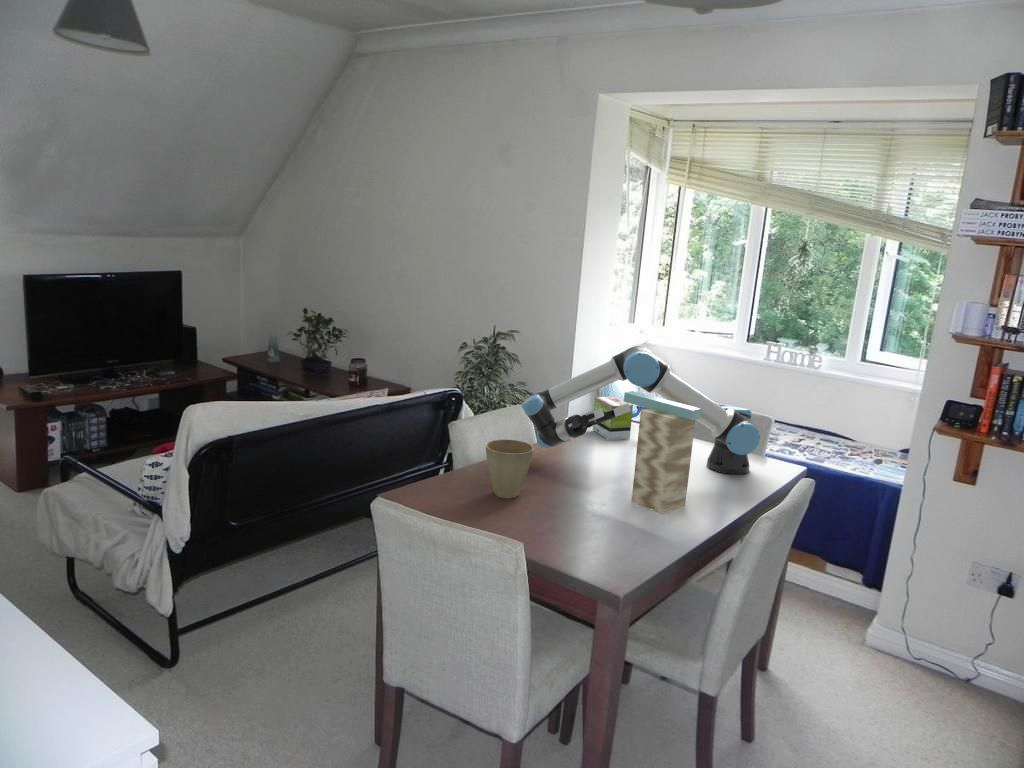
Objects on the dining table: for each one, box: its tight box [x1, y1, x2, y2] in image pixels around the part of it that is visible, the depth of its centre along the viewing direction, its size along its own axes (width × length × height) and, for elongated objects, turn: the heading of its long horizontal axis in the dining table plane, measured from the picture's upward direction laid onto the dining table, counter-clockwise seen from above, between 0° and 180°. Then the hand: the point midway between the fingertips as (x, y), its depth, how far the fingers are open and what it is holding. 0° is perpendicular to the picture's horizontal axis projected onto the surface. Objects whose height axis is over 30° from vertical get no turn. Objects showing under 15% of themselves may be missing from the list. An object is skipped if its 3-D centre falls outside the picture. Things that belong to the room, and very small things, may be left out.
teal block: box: [623, 390, 701, 421], centre depth 243 cm, size 26×4×3 cm, turn 43°
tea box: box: [592, 395, 634, 441], centre depth 323 cm, size 15×10×15 cm
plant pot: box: [485, 438, 534, 499], centre depth 245 cm, size 15×15×16 cm
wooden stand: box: [631, 408, 696, 515], centre depth 245 cm, size 12×12×30 cm
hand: (616, 409), depth 257 cm, fingers open, 13 cm apart
